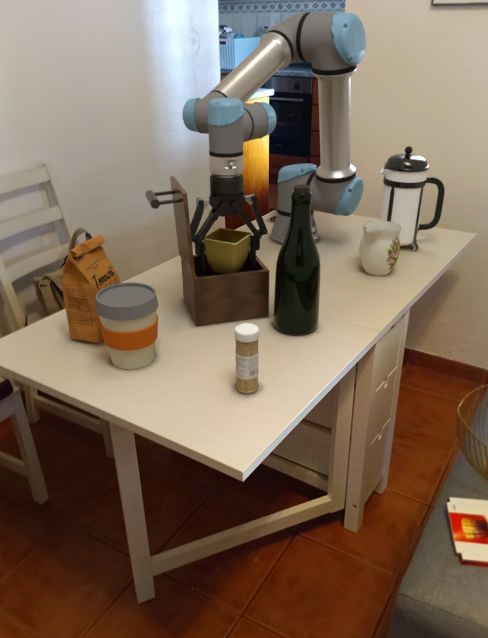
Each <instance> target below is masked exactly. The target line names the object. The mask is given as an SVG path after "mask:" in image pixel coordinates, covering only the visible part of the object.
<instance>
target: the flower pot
mask: <svg viewBox="0 0 488 638" xmlns="http://www.w3.org/2000/svg"><path fill="white" fill-rule="evenodd" d="M251 235H253V233H252V232H249V231H243V230H237V229H232V228H226V227H218V228H216V229H215V230H213V231H211V232H210V233H207V234H206V236H205V237H204V239H203V242H204V244H205V254H206V259H207V262H208V264H209V265H210V267H211V268H212V270H213V271H214V272H217V273H222V274H230V273H236V272H238V271H239V270H240V269H241V268H242V267H243V265H244V263H245V261H246V259H247V257H248V253H249V249H250V241H251Z"/></svg>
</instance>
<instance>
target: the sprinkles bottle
mask: <svg viewBox="0 0 488 638" xmlns="http://www.w3.org/2000/svg"><path fill="white" fill-rule="evenodd" d="M259 338H260V328H259V326H258V325H256V324H254V323H251V322H250V323H249V322H247V323H245V322H244V323H240V324H238V325H236V326H235V327H234V339H235V389H236V391H237V392H239V393H241V394H246V395H248V394H254V393H255V392H257V391H258V390H259V365H260V363H259V359H260V358H259V356H260V355H259V352H260V351H259Z"/></svg>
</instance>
